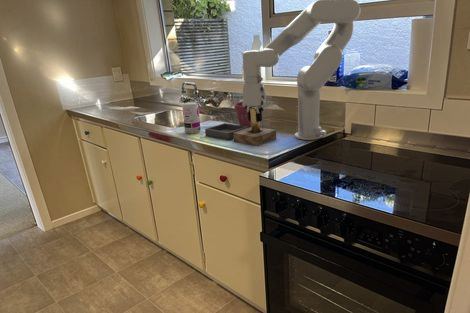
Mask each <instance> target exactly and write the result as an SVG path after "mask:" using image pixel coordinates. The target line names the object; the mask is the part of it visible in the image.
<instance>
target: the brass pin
mask: <svg viewBox="0 0 470 313" xmlns="http://www.w3.org/2000/svg"><path fill="white" fill-rule="evenodd" d="M256 113H257V110H256V107H253V108H250V115H251V130H252V133H259V132H260V128H261V121H260V122H257V121H256Z"/></svg>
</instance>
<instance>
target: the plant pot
mask: <svg viewBox="0 0 470 313" xmlns="http://www.w3.org/2000/svg"><path fill="white" fill-rule="evenodd" d="M242 103H243V101H238V102H236V103H234V112H236V116H237V119H238V125H240V126H247V127H248V128H249V127H251V121H249V119H248V112H247V110H246V109H245V107H244V106H242ZM253 107H256V106H253ZM259 109H260V108H259Z"/></svg>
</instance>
